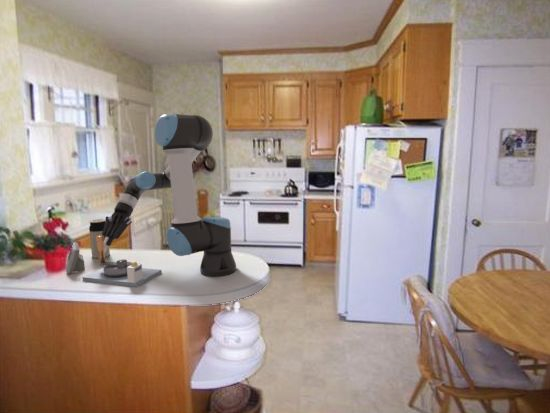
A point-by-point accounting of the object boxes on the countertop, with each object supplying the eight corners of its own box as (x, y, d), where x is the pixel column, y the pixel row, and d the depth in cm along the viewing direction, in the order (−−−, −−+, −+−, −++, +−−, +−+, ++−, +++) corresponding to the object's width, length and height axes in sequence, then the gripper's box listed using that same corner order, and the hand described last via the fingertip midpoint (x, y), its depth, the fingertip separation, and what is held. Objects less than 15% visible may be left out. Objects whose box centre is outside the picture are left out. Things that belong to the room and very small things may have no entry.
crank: (141, 269, 159) (138, 235, 157) (119, 278, 149) (116, 243, 146) (111, 265, 166) (108, 232, 164) (88, 273, 155) (85, 239, 153)
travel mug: (112, 255, 186) (109, 219, 183) (96, 259, 181) (92, 222, 178) (105, 252, 192) (102, 217, 189) (89, 256, 186) (85, 220, 183)
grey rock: (67, 264, 174) (64, 242, 172) (89, 262, 177) (86, 240, 175) (59, 276, 159) (56, 251, 157) (83, 273, 161) (80, 249, 160)
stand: (161, 273, 160) (160, 252, 158) (137, 286, 145) (135, 264, 143) (110, 268, 168) (109, 248, 166) (82, 280, 153) (80, 259, 151)
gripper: (141, 211, 174) (119, 257, 162) (118, 209, 178) (95, 254, 166) (133, 202, 168) (109, 249, 156) (109, 200, 172) (84, 246, 160)
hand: (102, 251), depth 161 cm, fingers closed
